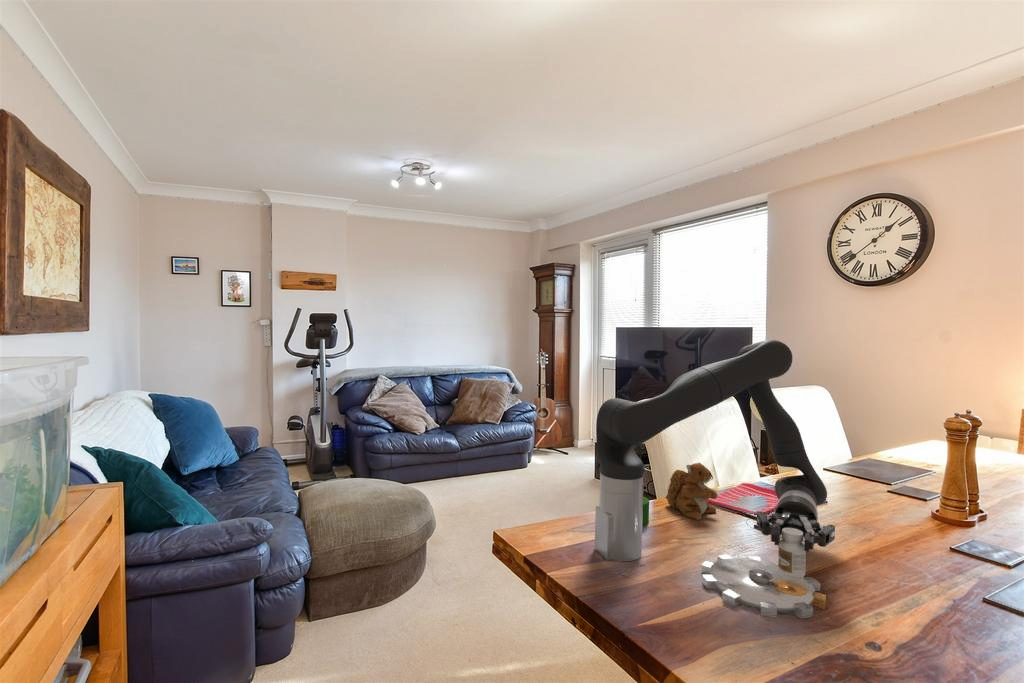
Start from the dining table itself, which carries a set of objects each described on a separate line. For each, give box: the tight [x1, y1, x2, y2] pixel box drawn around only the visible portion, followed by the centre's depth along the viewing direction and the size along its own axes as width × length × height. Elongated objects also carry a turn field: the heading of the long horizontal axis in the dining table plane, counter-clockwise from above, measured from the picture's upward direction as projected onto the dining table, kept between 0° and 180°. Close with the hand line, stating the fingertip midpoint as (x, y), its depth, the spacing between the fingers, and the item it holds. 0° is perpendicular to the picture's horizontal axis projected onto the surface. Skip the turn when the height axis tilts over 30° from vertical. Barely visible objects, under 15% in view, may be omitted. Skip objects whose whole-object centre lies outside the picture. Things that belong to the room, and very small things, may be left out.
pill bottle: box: [777, 528, 807, 578], centre depth 94 cm, size 4×4×8 cm
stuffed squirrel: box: [664, 462, 718, 521], centre depth 138 cm, size 10×14×13 cm
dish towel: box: [706, 482, 779, 515], centre depth 145 cm, size 17×24×3 cm
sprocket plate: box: [700, 554, 827, 619], centre depth 97 cm, size 21×21×2 cm
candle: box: [642, 496, 650, 527], centre depth 130 cm, size 8×8×10 cm
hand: (791, 543), depth 92 cm, fingers closed on pill bottle, 4 cm apart
